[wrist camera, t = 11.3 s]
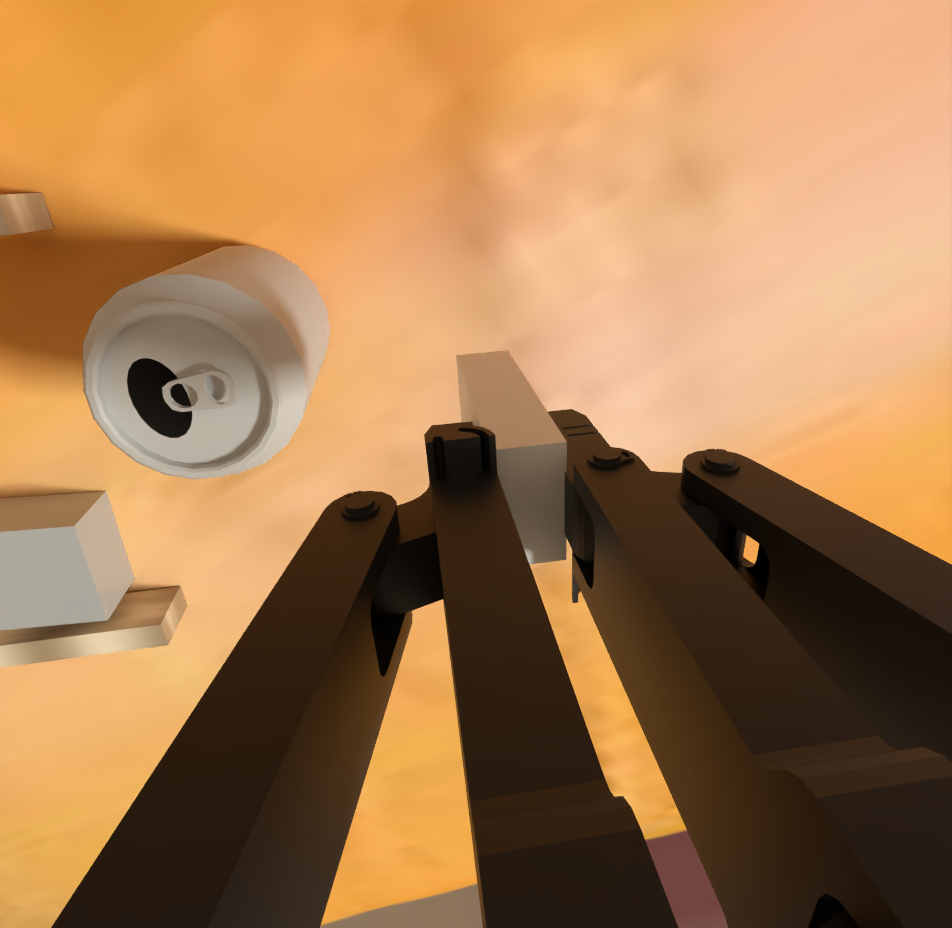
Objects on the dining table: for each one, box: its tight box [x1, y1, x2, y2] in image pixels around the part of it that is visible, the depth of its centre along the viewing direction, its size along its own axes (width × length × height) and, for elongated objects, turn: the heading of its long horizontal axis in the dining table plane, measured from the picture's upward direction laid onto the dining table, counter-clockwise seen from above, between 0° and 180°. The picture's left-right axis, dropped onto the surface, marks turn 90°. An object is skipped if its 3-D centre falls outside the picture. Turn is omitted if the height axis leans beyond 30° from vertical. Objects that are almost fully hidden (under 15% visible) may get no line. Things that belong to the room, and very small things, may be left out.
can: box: [83, 245, 330, 479], centre depth 25 cm, size 8×8×12 cm
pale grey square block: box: [0, 491, 135, 630], centre depth 33 cm, size 6×6×4 cm
